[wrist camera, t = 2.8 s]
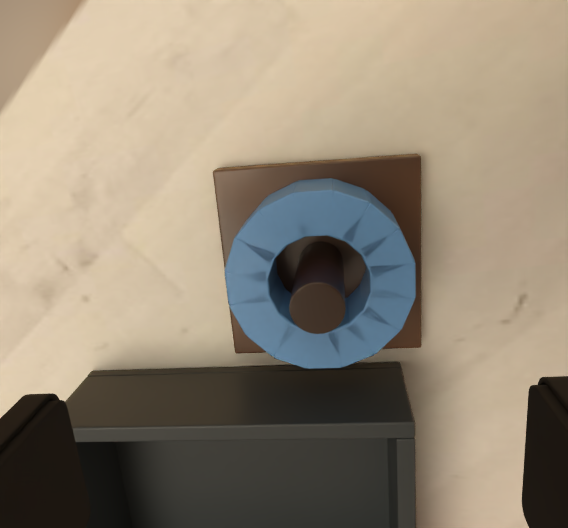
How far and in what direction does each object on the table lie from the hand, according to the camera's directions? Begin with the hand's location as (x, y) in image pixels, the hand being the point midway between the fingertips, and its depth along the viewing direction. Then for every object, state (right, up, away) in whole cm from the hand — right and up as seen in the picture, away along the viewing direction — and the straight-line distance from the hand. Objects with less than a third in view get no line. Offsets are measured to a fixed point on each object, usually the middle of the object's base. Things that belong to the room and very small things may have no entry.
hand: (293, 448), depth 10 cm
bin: (-2, -6, +15) cm, 16 cm away
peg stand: (+1, +4, +11) cm, 12 cm away
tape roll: (+1, +4, +11) cm, 11 cm away
